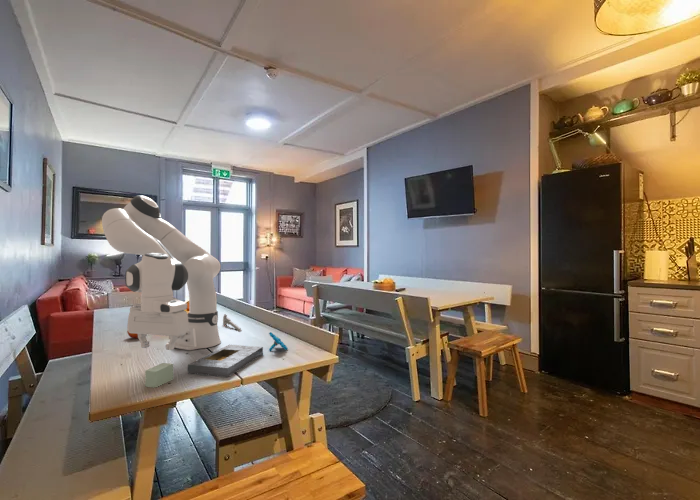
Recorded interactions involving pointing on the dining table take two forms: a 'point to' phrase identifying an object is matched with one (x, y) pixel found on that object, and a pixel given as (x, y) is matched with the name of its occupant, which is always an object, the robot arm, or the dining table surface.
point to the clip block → (158, 375)
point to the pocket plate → (225, 360)
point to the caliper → (230, 322)
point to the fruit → (133, 335)
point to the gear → (277, 342)
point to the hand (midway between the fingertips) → (157, 348)
